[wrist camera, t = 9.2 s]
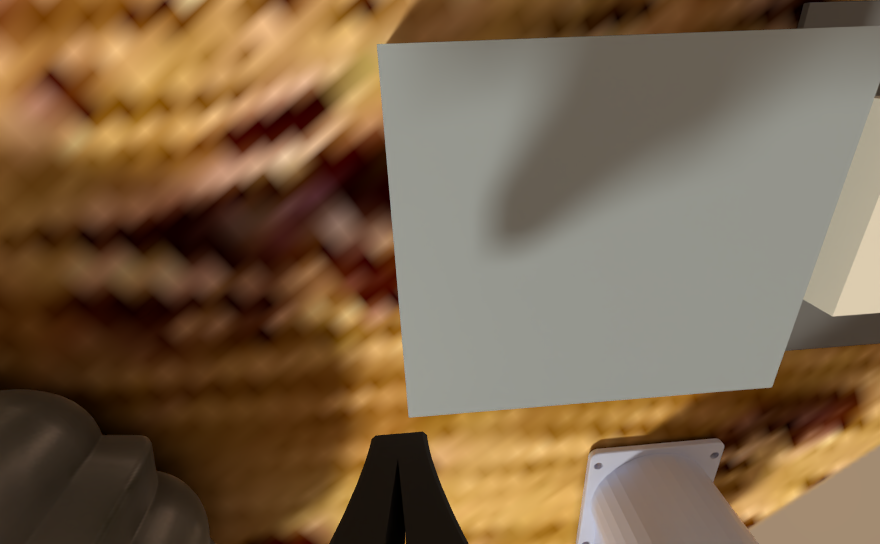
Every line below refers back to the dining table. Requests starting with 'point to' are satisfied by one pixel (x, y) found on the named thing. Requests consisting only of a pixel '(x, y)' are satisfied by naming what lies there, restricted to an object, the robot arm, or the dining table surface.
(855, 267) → the cream rectangular block
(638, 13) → the dining table surface
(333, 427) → the dining table surface
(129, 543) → the bundt pan
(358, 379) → the dining table surface
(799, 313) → the mat
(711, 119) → the grey flat block
